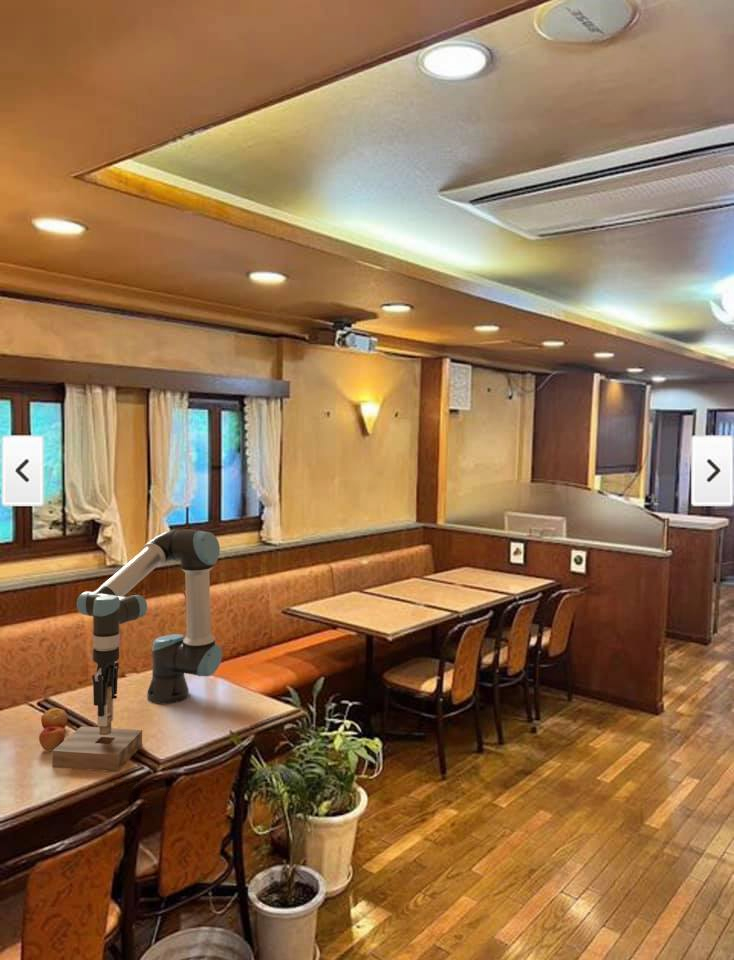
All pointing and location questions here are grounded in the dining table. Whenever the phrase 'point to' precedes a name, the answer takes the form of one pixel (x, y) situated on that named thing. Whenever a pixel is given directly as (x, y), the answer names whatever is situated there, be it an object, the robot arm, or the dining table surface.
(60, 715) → the fruit
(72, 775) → the dining table surface
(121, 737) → the board
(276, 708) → the dining table surface
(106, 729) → the peg
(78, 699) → the dining table surface
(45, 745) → the apple
